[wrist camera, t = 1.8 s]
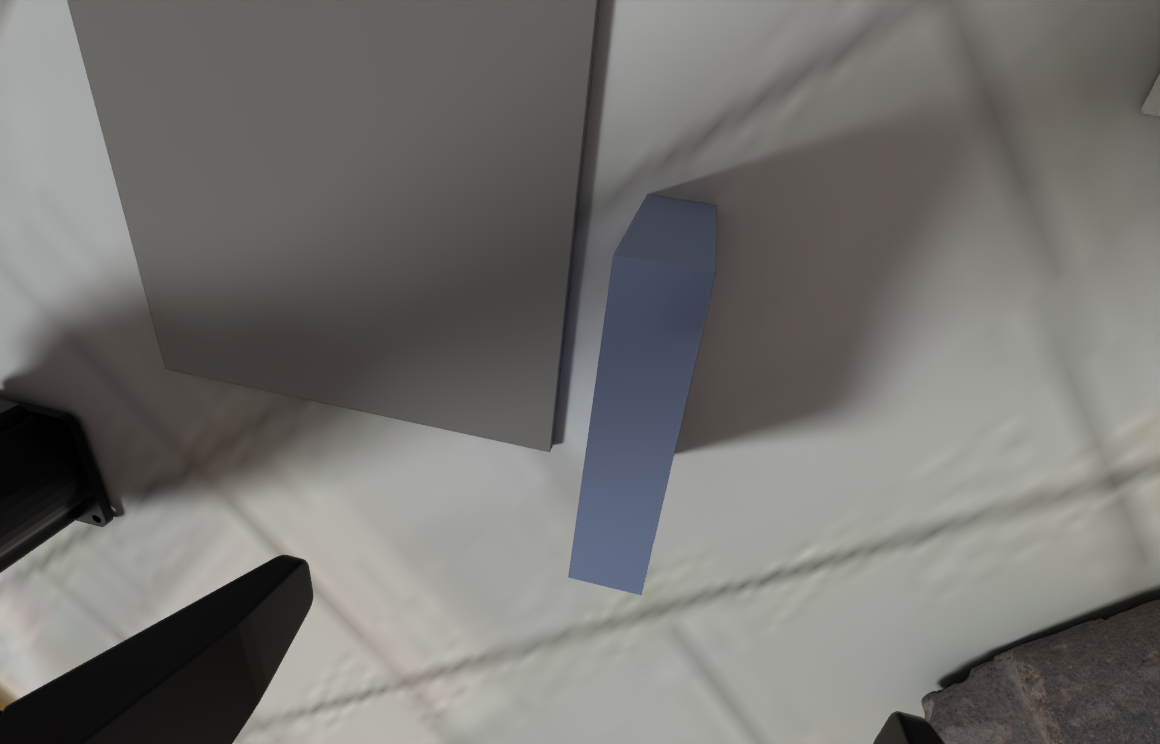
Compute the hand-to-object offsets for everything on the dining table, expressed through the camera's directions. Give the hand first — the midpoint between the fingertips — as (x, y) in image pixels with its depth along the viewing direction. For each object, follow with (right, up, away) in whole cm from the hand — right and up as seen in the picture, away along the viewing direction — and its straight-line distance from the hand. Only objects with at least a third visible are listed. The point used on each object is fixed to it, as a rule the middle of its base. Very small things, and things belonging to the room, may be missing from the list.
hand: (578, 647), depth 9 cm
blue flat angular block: (+2, +5, +10) cm, 12 cm away
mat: (-8, +11, +10) cm, 16 cm away
